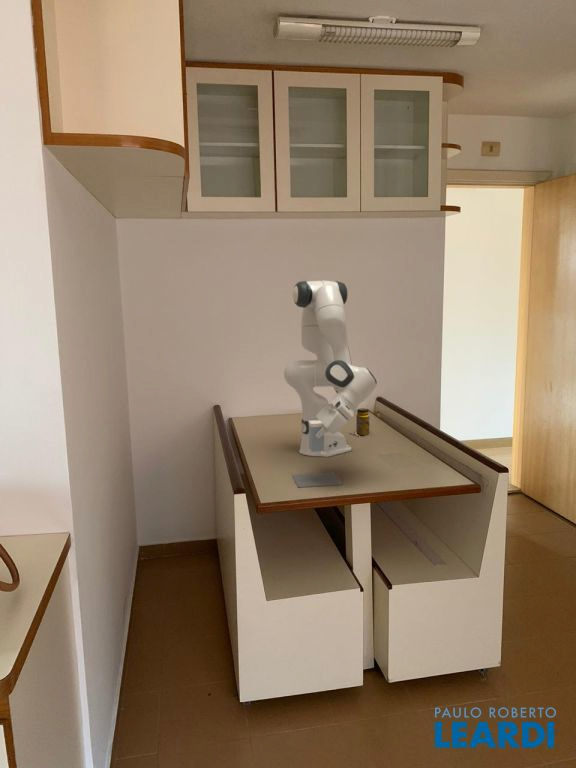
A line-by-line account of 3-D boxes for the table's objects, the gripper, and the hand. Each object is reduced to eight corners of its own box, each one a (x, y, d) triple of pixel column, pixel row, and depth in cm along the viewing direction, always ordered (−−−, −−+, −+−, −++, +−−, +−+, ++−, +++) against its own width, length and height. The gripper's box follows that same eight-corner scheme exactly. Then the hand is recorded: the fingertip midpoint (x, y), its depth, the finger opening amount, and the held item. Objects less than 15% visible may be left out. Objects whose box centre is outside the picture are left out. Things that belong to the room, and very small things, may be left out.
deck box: (321, 447, 213) (321, 420, 211) (324, 451, 208) (324, 423, 206) (308, 448, 212) (308, 420, 210) (311, 451, 207) (311, 423, 206)
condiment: (372, 434, 276) (373, 409, 274) (357, 437, 272) (357, 411, 270) (364, 431, 283) (364, 407, 281) (349, 433, 279) (349, 409, 277)
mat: (334, 472, 220) (334, 471, 220) (343, 484, 206) (343, 483, 206) (291, 475, 217) (291, 474, 217) (298, 487, 204) (298, 486, 204)
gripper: (328, 395, 218) (303, 422, 218) (341, 406, 198) (313, 435, 198) (340, 407, 220) (315, 433, 220) (354, 418, 200) (326, 447, 200)
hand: (314, 434), depth 209 cm, fingers closed on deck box, 5 cm apart
